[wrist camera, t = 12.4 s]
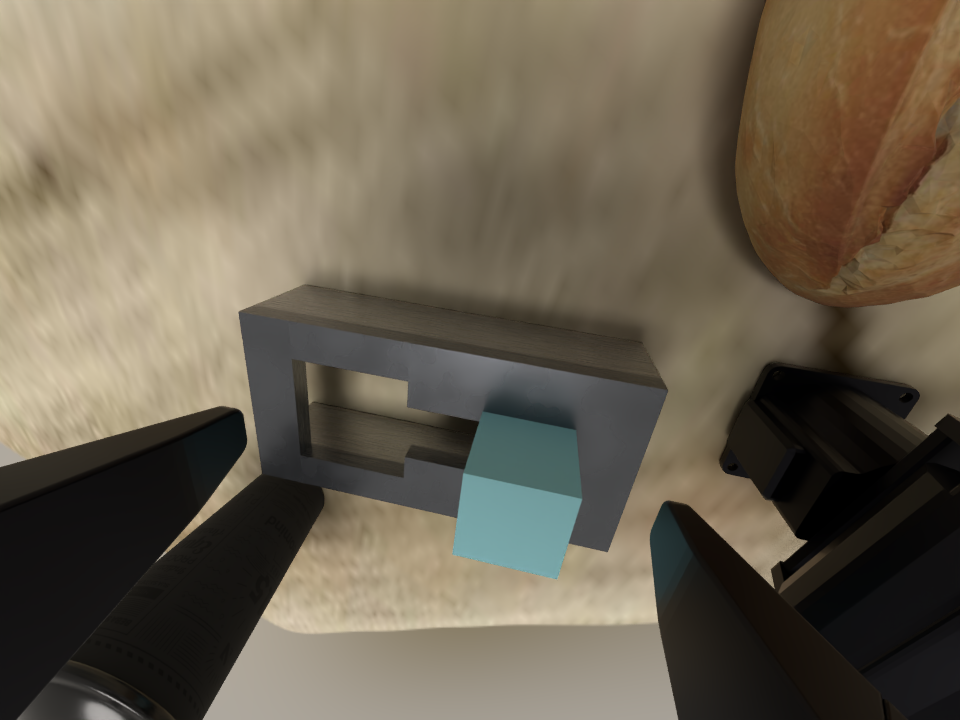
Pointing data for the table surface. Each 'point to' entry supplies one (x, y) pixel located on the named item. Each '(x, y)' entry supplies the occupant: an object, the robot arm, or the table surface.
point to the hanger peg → (519, 495)
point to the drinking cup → (187, 614)
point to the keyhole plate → (443, 398)
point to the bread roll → (854, 148)
